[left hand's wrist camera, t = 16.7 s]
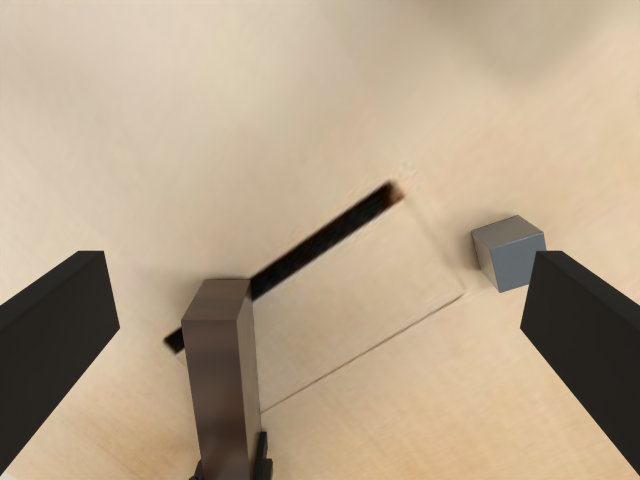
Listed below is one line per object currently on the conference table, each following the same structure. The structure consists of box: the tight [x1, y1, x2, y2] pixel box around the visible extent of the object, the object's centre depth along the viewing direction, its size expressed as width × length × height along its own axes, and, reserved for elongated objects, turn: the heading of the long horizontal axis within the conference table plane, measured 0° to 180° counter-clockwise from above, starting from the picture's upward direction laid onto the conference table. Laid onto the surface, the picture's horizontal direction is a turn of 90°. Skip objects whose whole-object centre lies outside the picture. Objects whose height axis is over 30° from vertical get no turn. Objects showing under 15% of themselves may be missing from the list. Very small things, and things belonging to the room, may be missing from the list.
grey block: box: [471, 216, 546, 293], centre depth 41 cm, size 5×5×5 cm
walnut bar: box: [181, 280, 261, 480], centre depth 45 cm, size 26×5×8 cm, turn 0°
